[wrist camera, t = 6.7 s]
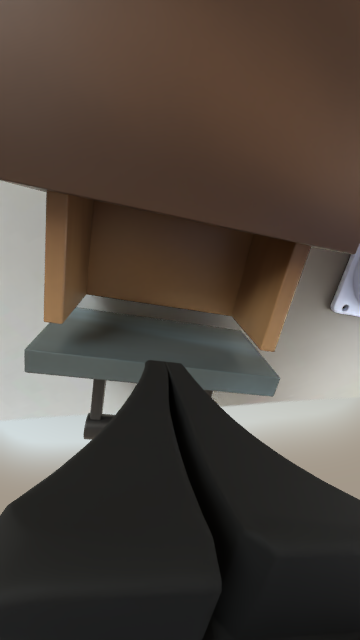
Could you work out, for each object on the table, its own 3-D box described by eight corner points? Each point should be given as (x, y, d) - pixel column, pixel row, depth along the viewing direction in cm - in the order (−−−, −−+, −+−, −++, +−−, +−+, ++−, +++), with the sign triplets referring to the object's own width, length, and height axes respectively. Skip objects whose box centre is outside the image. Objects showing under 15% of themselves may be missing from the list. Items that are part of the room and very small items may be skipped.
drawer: (221, 398, 22) (248, 465, 16) (61, 383, 19) (24, 454, 14) (291, 158, 16) (376, 123, 10) (75, 99, 14) (21, 11, 8)
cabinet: (270, 239, 18) (355, 254, 11) (64, 196, 16) (-10, 177, 8) (350, -28, 14) (591, -320, 6) (78, -143, 11) (-54, -827, 4)
